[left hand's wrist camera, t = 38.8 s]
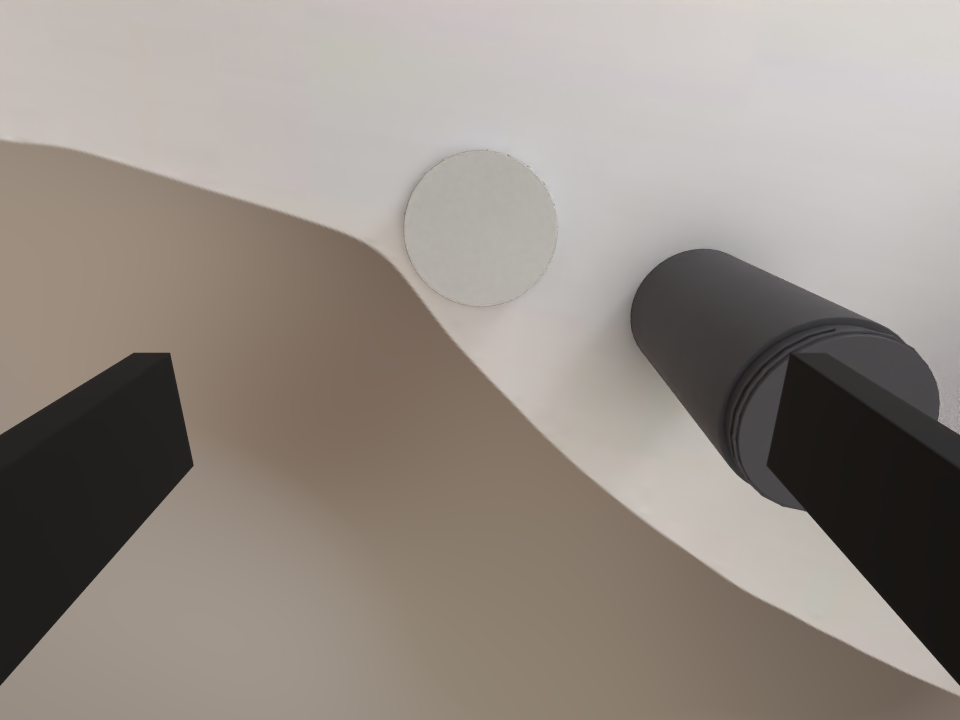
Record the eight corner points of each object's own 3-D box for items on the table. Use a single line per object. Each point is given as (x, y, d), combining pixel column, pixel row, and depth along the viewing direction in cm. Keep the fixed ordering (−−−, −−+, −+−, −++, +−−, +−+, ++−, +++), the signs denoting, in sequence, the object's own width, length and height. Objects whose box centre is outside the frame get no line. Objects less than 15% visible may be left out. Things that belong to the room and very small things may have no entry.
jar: (635, 250, 39) (746, 330, 23) (767, 247, 39) (975, 324, 23) (626, 372, 43) (718, 519, 26) (748, 369, 43) (918, 514, 26)
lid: (479, 328, 41) (479, 336, 40) (375, 226, 39) (370, 230, 37) (585, 230, 39) (590, 234, 37) (481, 114, 36) (481, 113, 35)
